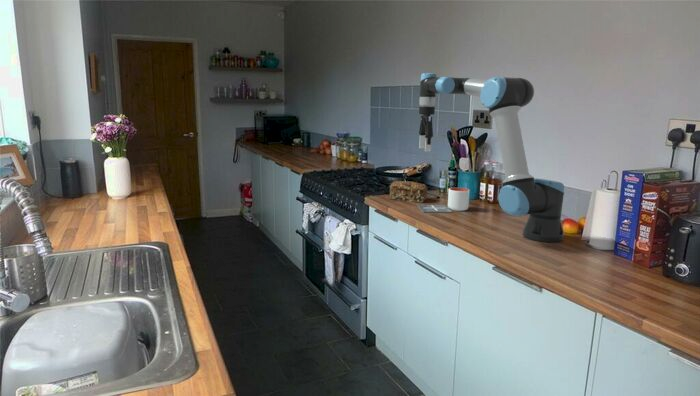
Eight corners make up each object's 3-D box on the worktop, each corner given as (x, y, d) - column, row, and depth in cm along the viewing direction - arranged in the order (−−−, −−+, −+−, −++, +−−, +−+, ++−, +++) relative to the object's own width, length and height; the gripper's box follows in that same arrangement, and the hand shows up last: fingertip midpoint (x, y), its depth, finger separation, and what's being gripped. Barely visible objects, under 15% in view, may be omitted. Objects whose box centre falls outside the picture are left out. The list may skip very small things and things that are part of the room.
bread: (388, 200, 250) (389, 181, 248) (394, 196, 260) (395, 178, 257) (423, 203, 243) (424, 184, 241) (427, 199, 253) (428, 181, 251)
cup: (470, 211, 227) (471, 191, 225) (449, 211, 228) (450, 191, 225) (465, 207, 237) (467, 187, 235) (445, 206, 237) (447, 187, 235)
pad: (452, 212, 224) (452, 211, 224) (423, 212, 223) (423, 211, 223) (444, 206, 238) (444, 204, 238) (417, 206, 237) (417, 204, 237)
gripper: (441, 106, 215) (438, 152, 220) (428, 105, 240) (426, 147, 244) (425, 106, 215) (422, 152, 219) (414, 105, 239) (412, 147, 243)
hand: (424, 149), depth 232 cm, fingers open, 13 cm apart
